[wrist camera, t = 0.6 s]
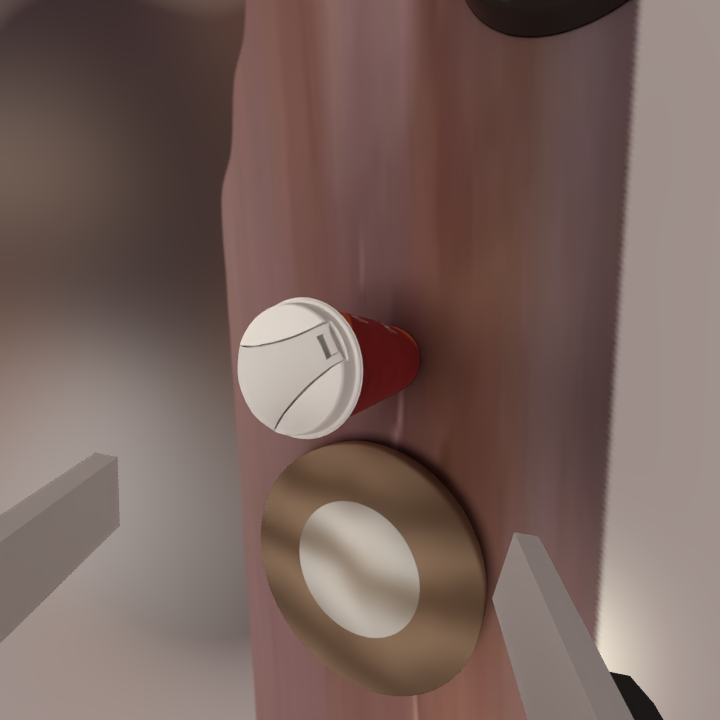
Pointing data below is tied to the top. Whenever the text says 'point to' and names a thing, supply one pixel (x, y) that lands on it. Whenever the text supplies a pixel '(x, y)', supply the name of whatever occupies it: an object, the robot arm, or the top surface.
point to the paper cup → (320, 366)
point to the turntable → (374, 567)
